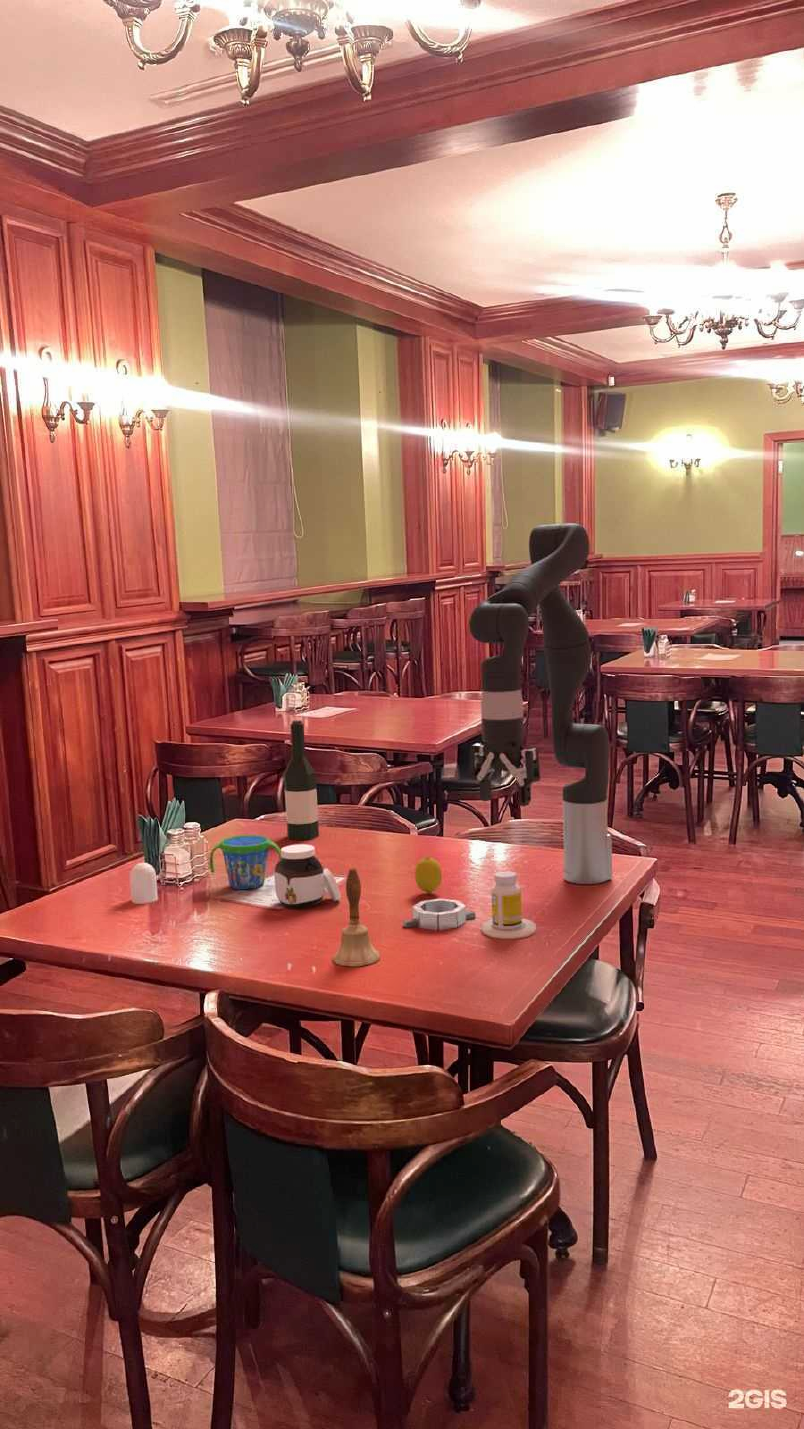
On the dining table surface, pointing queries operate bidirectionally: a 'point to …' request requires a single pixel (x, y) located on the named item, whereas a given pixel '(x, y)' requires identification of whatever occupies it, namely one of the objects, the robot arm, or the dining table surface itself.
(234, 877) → the snack cup
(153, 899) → the white domed cylinder
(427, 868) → the lemon
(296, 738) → the wine bottle
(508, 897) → the supplement bottle
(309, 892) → the spread jar
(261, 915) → the dining table surface
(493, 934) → the plate
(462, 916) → the collar
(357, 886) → the hand bell
